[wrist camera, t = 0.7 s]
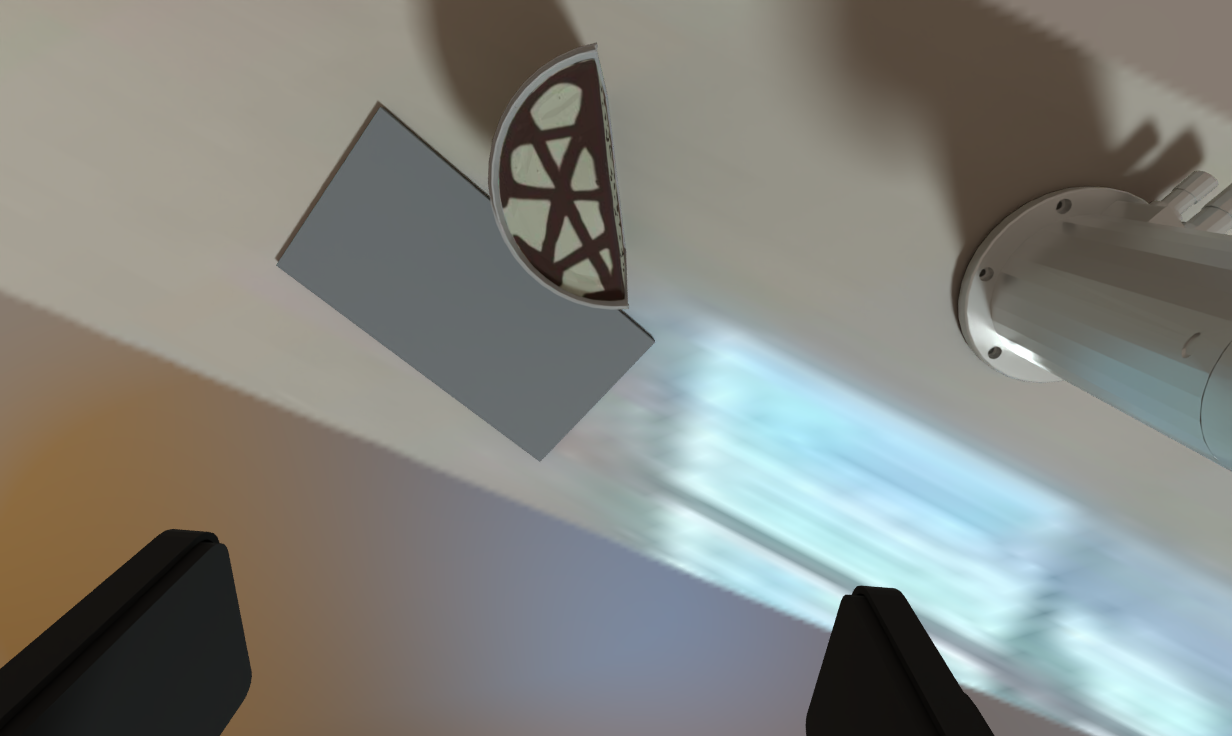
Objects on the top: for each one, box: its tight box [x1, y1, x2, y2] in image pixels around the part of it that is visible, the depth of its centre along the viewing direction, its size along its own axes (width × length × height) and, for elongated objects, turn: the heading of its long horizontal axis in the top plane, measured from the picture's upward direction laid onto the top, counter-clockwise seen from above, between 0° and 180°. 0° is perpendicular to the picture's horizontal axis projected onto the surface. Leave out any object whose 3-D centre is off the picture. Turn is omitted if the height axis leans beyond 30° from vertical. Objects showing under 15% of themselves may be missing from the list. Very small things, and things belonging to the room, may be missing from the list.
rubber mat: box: [276, 107, 655, 461], centre depth 38 cm, size 12×22×1 cm, turn 49°
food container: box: [488, 43, 629, 310], centre depth 31 cm, size 12×6×10 cm, turn 7°
